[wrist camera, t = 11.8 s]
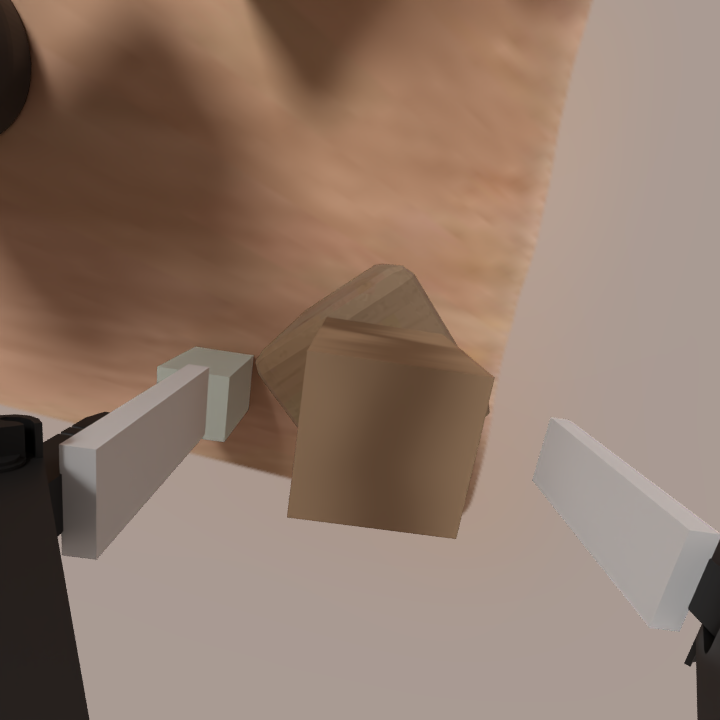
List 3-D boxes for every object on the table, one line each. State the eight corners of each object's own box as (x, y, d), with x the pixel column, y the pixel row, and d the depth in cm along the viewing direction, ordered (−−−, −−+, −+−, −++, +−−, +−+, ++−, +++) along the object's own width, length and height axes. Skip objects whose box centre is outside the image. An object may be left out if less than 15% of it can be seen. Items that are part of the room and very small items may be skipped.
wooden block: (298, 314, 40) (242, 364, 21) (382, 259, 39) (406, 257, 20) (352, 393, 42) (347, 506, 23) (434, 343, 41) (502, 417, 22)
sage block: (192, 401, 42) (155, 432, 35) (195, 346, 41) (157, 366, 33) (248, 409, 43) (224, 442, 35) (253, 355, 41) (229, 377, 33)
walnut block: (312, 425, 22) (286, 517, 14) (326, 317, 20) (307, 350, 12) (421, 440, 22) (455, 539, 14) (442, 334, 20) (494, 377, 13)
